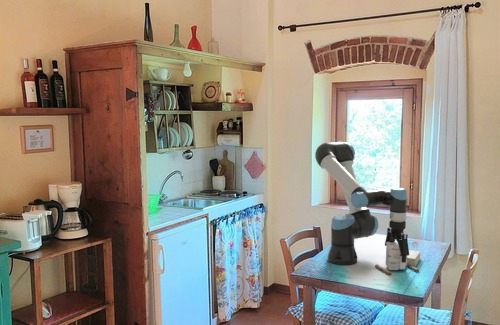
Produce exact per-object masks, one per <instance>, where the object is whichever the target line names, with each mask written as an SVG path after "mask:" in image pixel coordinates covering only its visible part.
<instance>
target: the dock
mask: <svg viewBox="0 0 500 325" xmlns="http://www.w3.org/2000/svg"><path fill="white" fill-rule="evenodd" d="M420 260H421V251H420V250H419V251H418V250H412V249H411V250H410V249H409V255H408V256H407V263H408V264H410V265H412V266H414V267H416V266H417V264H418V263H419V261H420Z"/></svg>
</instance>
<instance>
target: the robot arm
mask: <svg viewBox="0 0 500 325" xmlns="http://www.w3.org/2000/svg"><path fill="white" fill-rule="evenodd" d="M314 153H315V154H314V156H315V161H316V163H317V165H318V166H319V167H320V168H321V169H323V170H325V171H327V173H328V174H329V175H330V176H331V177H332V178H333V179H334V180H335V181H336V182H337V183H338V184H339V186H340V187H341V188H342V192H343V194H344V197H345V201H346V204H347V207H348V210H349V213H344V214H342V213H341V214H336V215H334V217H333V218H331V224H330V230H331V231H330V234H331V235H330V239H331V241H330V243H331V244H330V245H331V246H330V248H329V251H328V254H327V262H329V263H331V264H333V265H339V266H340V265H342V266H350V265H354V264H357V263H358V255H357V251H356V248H355V240H358V239H361V238H369V237H372V236H374V235H375V234H376V233H377V232H378V229H379V221H378V218H377V216H376V215H375V214H374V213H371V211H370V208H368V207H376V206H383V205H384V206H386V207H389V223H388V224H389V227H387V228H386V230H387V232H386V237H385V241H384V246H385V247H386V243H387V242H398V245H399V249H400V253H401V255H400V264H399V269H405V262H406V256H408V255H409V250H410V249H409V242H408V241H409V240H408V237H409V236H408V233H404V230H405V229H406V226H407V225H406V224H407V223H406V220H407V203H408V202H407V201H408V193H407V189H406V188H404V187H392V188H391V189H390V190H388V189H384V188H381V187H380V188H378V187H377V188H373V189H372V190H366V189H365V188H364V187H363V186H362V185H361V184H360V182H359V181H358V180H357V178H356V175H355V171H354V168H353V164H354V159H355V155H356V151H355V148H354V146H353V145H352V144H351V143H349V142H347V141H346V142H345V141H337V142H335V141H334V142H324V143H323V142H322V143H321V144H319V145H318V147H317V148H316V150H315V152H314Z"/></svg>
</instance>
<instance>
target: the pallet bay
mask: <svg viewBox="0 0 500 325" xmlns="http://www.w3.org/2000/svg"><path fill="white" fill-rule="evenodd" d="M374 267H375V268H376V269H377V270H379V271H380V272H382V273H384V274H386V275H387V276H391V275H392V272H391V270H389V269H386V268H384V267H383V266H381V265H380V264H374ZM407 269H409V270H412V271H413V270H414V272H416V273H420V269H419V268H417V267H416V266H415V267H414V266H412V265H410V264H408V263H407Z"/></svg>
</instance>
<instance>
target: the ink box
mask: <svg viewBox="0 0 500 325" xmlns="http://www.w3.org/2000/svg"><path fill="white" fill-rule="evenodd" d="M385 247H386V248H385V249H386V250H385V266H386V268H388V269H387V270H388V271H407V270H408V267H407V256H406V262H405V269H399V264H400V255H401V253H400V249H399V245H398V242H397V241H395V242H387V243H386V246H385Z"/></svg>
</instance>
